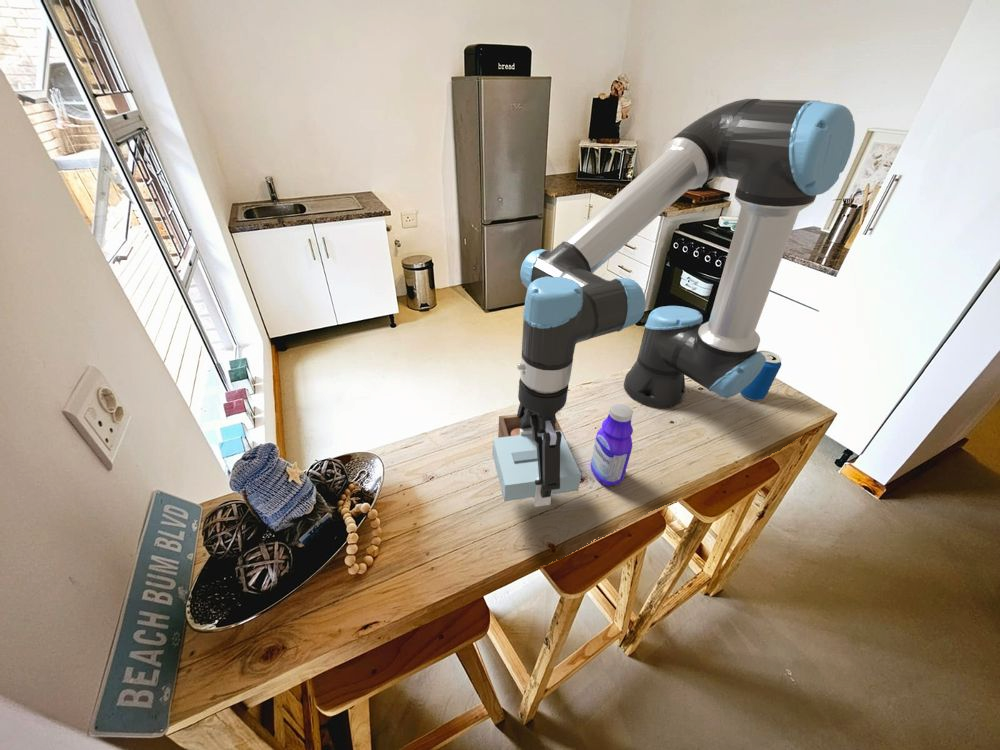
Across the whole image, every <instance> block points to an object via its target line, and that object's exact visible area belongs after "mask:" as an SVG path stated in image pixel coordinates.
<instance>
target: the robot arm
mask: <svg viewBox="0 0 1000 750" xmlns="http://www.w3.org/2000/svg"><path fill="white" fill-rule="evenodd" d="M855 125H856V124H855V121H854V117H853V114H852V112H851V110H850V109H849V108H848V107H847V106H845V105H842V104H839V103H832V102H831V103H830V102H825V101H821V100H815V99H814V100H798V99H794V100H793V99H761V98H745V99H740V100H735V101H733V102H729V103H726V104H723V105H722V106H720V107H718V108H716V109H713V110H711V111H709V112H708V113H706V114H705V115H702V116H701V117H700V118H698V119H696V120H695V121H693V122H692V123H690V124H689V125H688V126H686V127H684V128H683V129H682V130H681V131H680V132H678V133H677V134H676V135H675V136H673V137H672V138H671V139H670V140H669V141H668V142H667V143H666V144H665V145H664V147H663V149H662V154H661V155H660V156H659V157H658V158H657V159H656V160H655V161H653V162H652V163H651V164H650V165H649V166H648V167H646V168H645V169H644V170H643V171H642V172H641V173H640V174H638V175H637V176H636V177H635V178H634V179H633V180H632V181H630V183H628V184H627V185H626V186H625V187H623V188H622V189H621V190H620V191H619V192H618V193H616V195H614V196H613V197H612V198H611V199H610V200H608V202H606V203H605V204H604V205H603V206H602V207H601V208H599V209H598V210H597V211H596V212H595V213H594V214H593V215H591V216H590V217H589V218H588V219H587V220H586V221H584V222H583V223H582V224H581V225H580V226H579V227H578V228H576V229H575V230H574V231H573V232H572V233H571V234H570V235H568V236H567V237H565V239H564V240H562V241H561V243H559V244H558V245H557V246H556V247H554V249H552V250H549V249H541V248H540V249H537V250H533V251H531V252H530V253H529V254H527V256H526V257H525V259H524V260H523V261H522V263H521V268H520V273H519V275H520V279H521V284H522V285H523V286H524V287H525V288H526V289H527V290H526V294H525V300H524V307H523V312H522V314H523V316H522V318H523V322H522V323H523V324H522V339H521V340H522V341H521V342H522V343H521V357H520V359H521V362H519V363H517V365H516V368H517V369H518V370H519V371H520V375H519V377H520V378H519V379H518V395H517V397H518V401H519V405H518V410H517V417H518V418H521V420H520V422H519V426H520V427H522V428H521V429H520V435H526V434H533V440H534V441H535V442H536V445H537V458H538V471H539V477H538V478H537V480H535V484H536V488H535V497H533V506H534V507H535V508H537V507H543V506H544V507H545V506H551V500H552V495H553V494H552V490H555V489H560V444H561V437H562V434H561V432H560V431H557V432H555V423H556V419H557V417H556V414H557V413H558V412H560V411H561V410H562V409H563V408H564V407H565V406H566V404H567V399H568V391H569V384H570V380H571V375H572V367H573V362H574V353H575V351H576V350H575V348H576V345H577V344H579V343H581V342H585V341H588V340H591V339H594V338H597V337H598V338H599V337H601V336H605V335H607V334H611V333H616V332H621V331H622V330H624V329H627V328H629V327H631V326H634V325H635V324H637V323H639V321H640V320H641V319H642V318H643V316H644V313H645V310H646V296H645V293H644V290H643V289H642V287H641V285H640V284H639V283H638V282H636V280H633V279H631V278H628V277H627V278H623V277H622V278H618V277H617V278H613V279H611V280H608V279H605V278H602V277H601V276H599V275H597V274H595V272H596V271H597V270H598V269H599V268H601V267H602V266H603V265H604V264H605V263H606V262H607V261H609V260H610V259H611V258H612V257H613V256H615V254H616V253H617V252H619V251H620V250H621V249H622V248H623V247H624V246H625V245H626V244H628V243H629V242H630V241H631V240H632V239H634V238H635V237H636V236H637V235H638V234H639V233H640V232H641V231H643V230H644V229H645V228H646V227H648V226H649V225H650V224H651V223H652V222H653V221H654V220H656V218H658V216H660V215H661V214H662V213H663V212H664V211H665V210H667V209H668V208H669V207H670V206H672V205H673V203H675V202H676V201H677V200H678V199H679V198H680V197H682V196H683V195H684V194H685V193H687V191H688V190H696V189H698V188H700V187H702V186H703V185H704V184H705V183H706V182H707V181H709V180H711V179H715V178H728V179H732V180H737V185H736V189H735V193H734V198H735V200H736V202H738V204H739V205H740V210H739V213H738V217H737V220H736V221H737V222H736V224H735V227H734V228H735V229H734V231H733V236H732V239H731V241H730V246H729V250H728V253H727V256H726V260H725V263H724V266H723V271H722V274H721V278H720V281H719V284H718V288H717V291H716V295H715V299H714V302H713V306H712V309H711V312H710V317H709V319H708V321H706V322H704V323H703V321H704V320H703V314H702V313H701V312H700V311H699V310H697V309H694V308H690V307H685V306H682V305H681V306H679V305H667V306H659V307H657V308H655V309H652V311H651V312H650V313H649V315H648V317H647V320H646V323H645V325H644V330H643V334H642V339H641V342H640V348H639V351H638V354H637V358H636V360H635V362H634V363H633V365H632V367H630V370H629V371H628V372H627V374H626V375H625V378H624V382H623V388H624V390H625V393H626V394H627V395H628V396H629V397H630V398H631V399H633V400H634V401H636V402H638V403H640V404H642V405H644V406H648V407H651V408H656V409H657V408H658V409H668V408H673V407H676V406H678V405H680V404H681V403H682V401H683V399H684V395H685V394H686V382H685V381H686V380H685V376H686V377H687V378H689V379H690V380H692V381H694V382H695V383H697V384H699V385H700V386H702V387H703V388H705V389H706V390H708V391H709V392H712V393H714V394H716V395H717V396H719V397H722V398H732V397H734V396H736V395H738V394H741V393H740V392H741V391H742V390H744V389H745V388H746V387H747V386H748V385H749V384H750V383H751V382H752V381H753V380H754V379H755V378H756V377H757V375H758V374H759V373H760V371H761V370H762V368H763V366H764V364H765V361H766V358H765V356H764V355H763V354H762V353H760V352H758V349H759V346H760V343H761V336H760V335H759V334H758V332H757V330H756V329H757V326H758V324H759V321H760V318H761V315H762V313H763V310H764V308H765V304H766V302H767V299H768V297H769V295H770V291H771V288H772V285H773V283H774V280H775V278H776V275H777V273H778V270H779V267H780V264H781V261H782V259H783V256H784V254H785V250H786V248H787V245H788V243H789V240H790V237H791V234H792V232H793V229H794V226H795V224H796V220H797V219H798V216H799V213H800V212H801V211H802V210H804V209H805V208H808V207H809V206H810V205H813V203H814V202H815V201H816V198H817V196H819V195H823V194H825V193H827V192H828V191H829V190H831V188H833V187H834V186H835V184H836V183H837V182H838V180H839V179H840V175H841V174H842V173H843V172H844V170H845V169H846V166H847V165H848V162H849V159H850V156H851V154H852V151H853V147H854V141H855V134H856V133H855V131H856V130H855V128H856V127H855ZM531 426H532V428H531ZM537 433H539V434H541V433H544V434H543V436H538V434H537Z"/></svg>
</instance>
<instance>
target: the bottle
mask: <svg viewBox="0 0 1000 750" xmlns="http://www.w3.org/2000/svg"><path fill="white" fill-rule="evenodd" d="M633 414H634V410H633V409H632V407H631V406H629V405H628V404H625V403H623V402H622V403H621V402H620V403H619V402H616V403H613V404H612V405H611V406H610V409H609V412H608V415H607V417H606V418H605V419H604V420H603V421H602V423H601V427H600V428H599V429H598V431H597V432H596V436H595V440H594V446H593V450H592V456H591V461H590V471H591V472H592V475H593V476H594V477H595V479H596V480H597V481H598V482H600V483H601V484H602V485H604V486H606V487H613V486H615V485H618V484H620V483H621V482H622V481H623V480H624V478H625V475H626V471H627V468H628V464H629V460H630V456H631V455H632V454H631V453H632V449H633V440H632V435H633V432H634V428H633V426H632V418H633Z"/></svg>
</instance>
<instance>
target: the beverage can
mask: <svg viewBox="0 0 1000 750" xmlns="http://www.w3.org/2000/svg"><path fill="white" fill-rule="evenodd" d="M757 352H760V353H762V354H763V355H764V356H765V358H766V361H765V364H764V366H763V368H762V370H761V371H760V373H759V374H758V375H757V377H756V378H755V379H754V380H753V381H752V382H751V383H750V384H749V385H748V386H747V387H746V388H745V389H744V390H742V391H741V392H740V393H739V394H740V395H741V396H742V397H743V398H745V399H748V400H750V401H756V402H757V401H763V400H764V399H766V397H767V394H768V392H769V391H770V389H771V387H772V384H773V383H774V381H775V378H776V377H777V375H778V374H779V371H780V369H781V367H782V357H781V356H780V355H778V354H777V353H775V352H771V351H769V350H757Z"/></svg>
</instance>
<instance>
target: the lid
mask: <svg viewBox="0 0 1000 750" xmlns="http://www.w3.org/2000/svg"><path fill="white" fill-rule="evenodd" d="M555 432H557V431H555ZM560 432H561V431H560ZM562 432H563V431H562ZM562 432H561V434H562ZM537 434H538V436H543V434H544V433H541V434H539V433H537ZM563 434H564V433H563ZM563 434H562V437H561V444H560V489H555V490H552V495H557V494H559V495H560V494H565V493H571V492H572V493H574V492H578V491H579V488H580V483H581V479H582V473H581V471H580V469H579V466H578V464H577V462H576V460H575V457H574V455H573V454H572V451H571V450H570V447H569V445H568V443H567V441H566V440H565V438H566V437H565V438H564V436H565V435H564V436H563ZM491 451H492V453H491V454H492V457H493V461H494V466H495V469H496V473H497V478H498V482H499V485H500V490H501V493H502V494H501V495H502V498H503V501H504V502H509V501H516V500H523V499H530V498H531V499H532V498H534V497H535V488H536V484H535V480H537V478H538V477H539V471H538V458H537V445H536V442H535V441H534V440H533V434H526V435H517V436H508V437H500V438H498V437H493V438H492V450H491Z"/></svg>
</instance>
